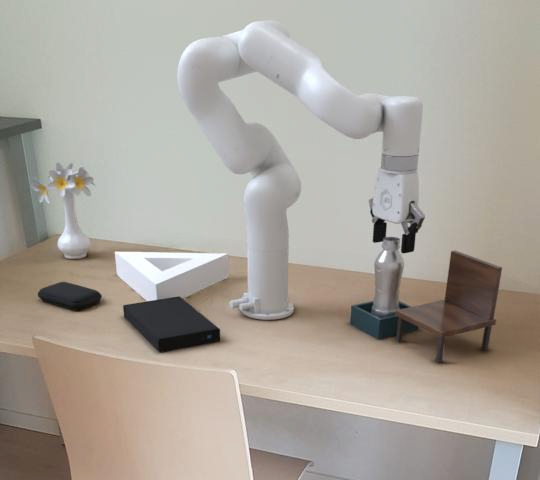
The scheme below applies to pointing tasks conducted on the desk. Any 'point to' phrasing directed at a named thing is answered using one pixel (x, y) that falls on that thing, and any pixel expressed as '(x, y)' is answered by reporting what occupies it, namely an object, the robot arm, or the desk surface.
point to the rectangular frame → (377, 321)
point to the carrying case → (69, 295)
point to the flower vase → (68, 206)
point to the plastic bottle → (387, 278)
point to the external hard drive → (171, 324)
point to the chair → (458, 303)
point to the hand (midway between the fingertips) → (392, 246)
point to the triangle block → (170, 272)
